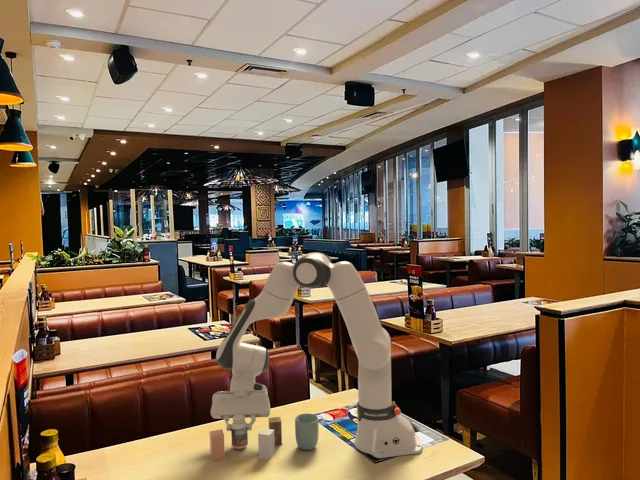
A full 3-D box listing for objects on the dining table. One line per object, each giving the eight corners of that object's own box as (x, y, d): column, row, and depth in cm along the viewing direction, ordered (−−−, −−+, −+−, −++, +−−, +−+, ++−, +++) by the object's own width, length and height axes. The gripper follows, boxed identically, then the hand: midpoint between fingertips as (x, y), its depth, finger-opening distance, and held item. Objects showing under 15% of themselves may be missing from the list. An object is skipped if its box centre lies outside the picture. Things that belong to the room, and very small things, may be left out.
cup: (316, 454, 154) (315, 424, 153) (293, 452, 155) (292, 422, 155) (320, 442, 161) (320, 414, 161) (298, 441, 163) (298, 412, 162)
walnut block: (280, 439, 165) (280, 416, 164) (281, 444, 161) (281, 421, 160) (269, 440, 164) (268, 417, 163) (270, 445, 160) (269, 422, 159)
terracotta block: (222, 453, 156) (221, 429, 155) (224, 458, 152) (223, 434, 152) (210, 455, 154) (209, 431, 154) (212, 461, 151) (211, 436, 150)
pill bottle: (231, 442, 161) (230, 414, 161) (247, 440, 162) (246, 412, 162) (232, 450, 156) (231, 421, 155) (248, 447, 157) (247, 419, 157)
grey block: (274, 453, 155) (274, 429, 154) (270, 459, 151) (269, 435, 150) (263, 452, 156) (262, 428, 155) (258, 458, 152) (258, 433, 151)
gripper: (211, 387, 165) (206, 427, 156) (270, 385, 165) (268, 425, 156) (214, 395, 170) (209, 434, 160) (271, 393, 170) (269, 432, 161)
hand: (239, 430), depth 158 cm, fingers closed on pill bottle, 5 cm apart
